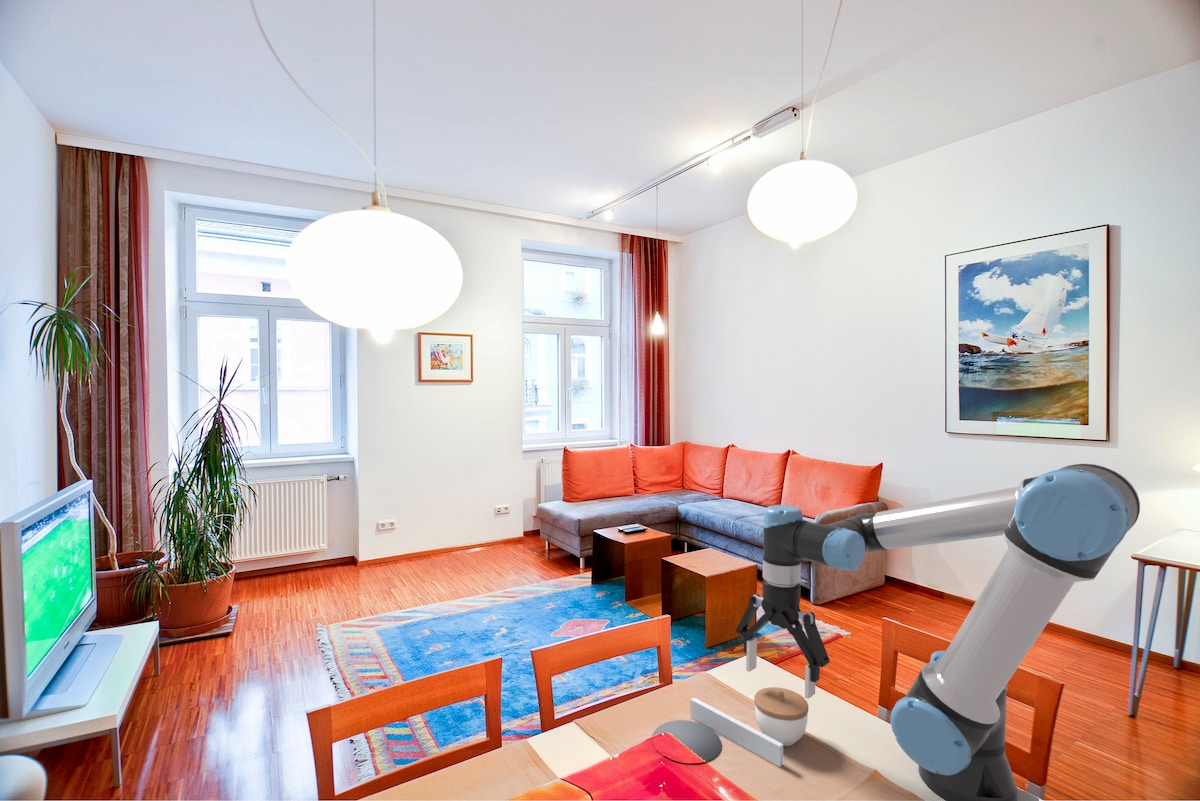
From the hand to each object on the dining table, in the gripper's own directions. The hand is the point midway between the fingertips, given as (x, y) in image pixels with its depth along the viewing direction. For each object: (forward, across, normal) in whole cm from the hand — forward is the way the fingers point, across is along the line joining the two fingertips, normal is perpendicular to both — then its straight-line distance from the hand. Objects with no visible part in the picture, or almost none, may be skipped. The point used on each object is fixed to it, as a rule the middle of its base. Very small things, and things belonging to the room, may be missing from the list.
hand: (779, 682), depth 118 cm
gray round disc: (+12, +11, +16) cm, 23 cm away
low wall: (+12, +5, +8) cm, 15 cm away
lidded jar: (+12, -1, 0) cm, 12 cm away
